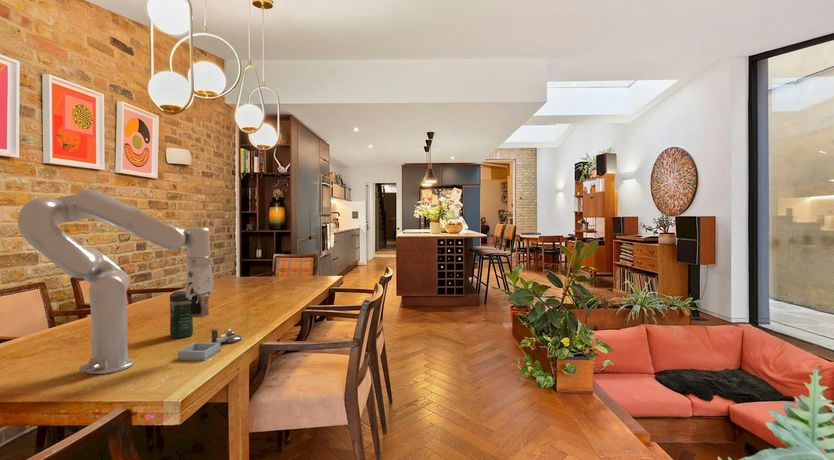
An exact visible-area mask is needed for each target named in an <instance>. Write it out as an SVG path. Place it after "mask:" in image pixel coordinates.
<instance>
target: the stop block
mask: <svg viewBox="0 0 834 460" xmlns="http://www.w3.org/2000/svg"><path fill="white" fill-rule="evenodd" d="M194 294H197V293H194ZM194 297H195V298H196V296H194ZM199 303H200V314H191V317H193V318H204V317H207V316H209V310H210V308H209V299H208V293H204V294H201V295H200V297H199Z"/></svg>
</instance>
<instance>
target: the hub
mask: <svg viewBox="0 0 834 460" xmlns="http://www.w3.org/2000/svg"><path fill="white" fill-rule="evenodd" d="M241 341H242V335H240V334H235V337H233V338H231V339H229V340H226V341H224V342H222V343H221V344H235V343H238V342H241Z"/></svg>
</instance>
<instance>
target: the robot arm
mask: <svg viewBox="0 0 834 460" xmlns="http://www.w3.org/2000/svg"><path fill="white" fill-rule="evenodd" d="M88 218H91V219H93V220H96V221H99V222H101V223H104V224H105V225H108V226H112V227H113V228H115V229H118V230H120V231H123V232H125V233H126V234H130V235H133V236H135V237H138V238H140V239H143V240H144V241H147V242H149V243H152V244H155V245H157V246H159V247H160V248H163V249H168V250H172V251H173V250H178V249H180V248H183V247H185V248H186V251H185V253H186V274H185V292H186V298H188V299H189V301H190V303H191V314H200V303H199V297H200V295H201V294H204V293H208V300H209V299H210V296H209V295H210V294H211V292H212V291H213V290H214V274H213V267H212V265H211V231H210V228H208V227H206V226H205V227H204V226H203V227H202V226H201V227H200V226H192V227H180V226H173V225H171V224H169V223H165V222H164V221H161V220H159V219H156V218H154V217H152V216H150V215H148V214H147V213H145V212H143V211H142V210H141V209H140V208H137V207H136V206H134V205H131V204H129V203H126V202H124V201H121V200H119V199H116V198H114V197H112V196H110V195H107V194H106V193H104V192H103V191H100V190H96V189H93V188H91V189H90V188H87V189H86V188H85V189H81V190H80V191H79V192H76V193H75V194H71V195H66V196H59V197H54V198H48V197H37V198H33V199H31V200H29V201H27V202H26V203H25V204H24V205H23V206H22V207H21V209H20V211H19V213H18V217H17V227H18V230H19V233H20V235H21V236H22V237H23V238H24V239H25V241H26V242H27V243H28V244H30V245H31V246H32V247H33V248H35V249H36V250H37V251H38V252H39V253H41V254H42V255H43V256H44V257H45V258H46V259H48V260H49V261H50V262H52V264H54V265H55V266H56V267H58V268H59V269H60V270H61V271H62V272H64V273H65V274H66V275H68V276H70V277H71V278H75V279H84V280H85V281H86V282H88V284H90V285H89V288H88V296H89V297H88V298H89V307H90V323H91V325H90V328H91V331H90V332H91V357H90V358H89V361H88V363H86V364H83V365H81V366H79V369H78V370H79V372H81V373H85V372H86V373H87V374H91V375H104V374H112V373H115V372H120V371H123V370H126V369H128V368H130V367H132V366H133V365H134V364H135V363H134V359H133V358H132V357H131V358H130V357H129V345H128V344H129V343H128V305H127V291H128V289H129V287H130V283H131V280H130V277H129V275H128V274H127V272H126V271H124V270H123V269H122V268H121V267H120V266H118V265H117V264H116V263H115V262H114V261H112V260H111V259H109V257H107V256H106V255H105V254H103V253H102V252H101V251H100V250H98V249H96V248H93V247H89V246H83V245H81V244H80V243H79V242H78V241H76V240H75V239H74V238H72V237H71V235H69V234H68V233H67V232H65V231H63V229H61V228H60V227H59V225H61V224H66V223H70V222H75V221H80V220H83V219H88ZM195 293H197V294H195ZM194 296H196V298H195V297H194Z"/></svg>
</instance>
